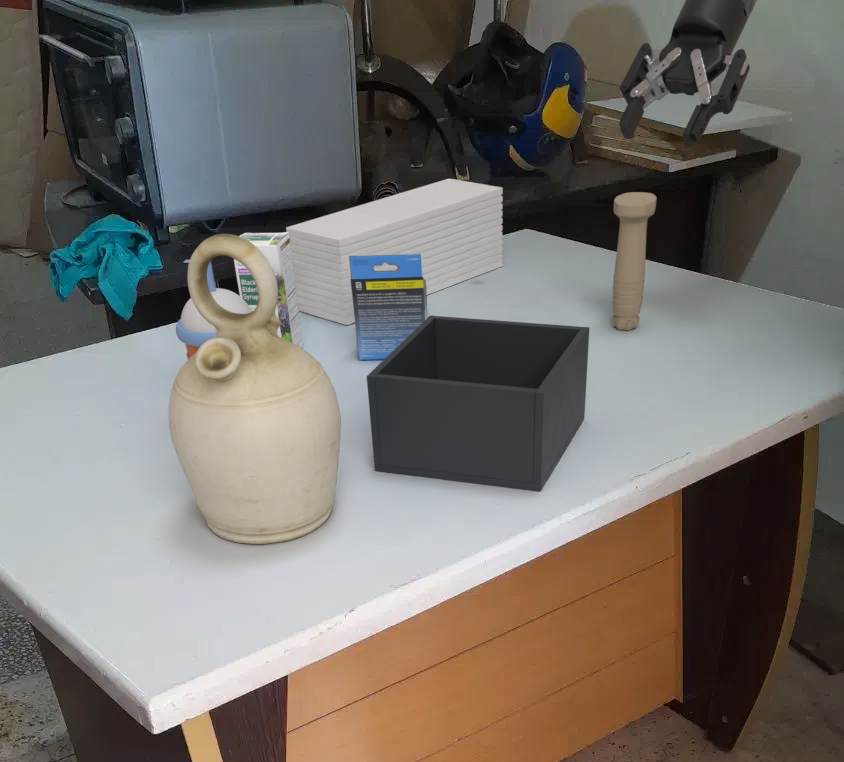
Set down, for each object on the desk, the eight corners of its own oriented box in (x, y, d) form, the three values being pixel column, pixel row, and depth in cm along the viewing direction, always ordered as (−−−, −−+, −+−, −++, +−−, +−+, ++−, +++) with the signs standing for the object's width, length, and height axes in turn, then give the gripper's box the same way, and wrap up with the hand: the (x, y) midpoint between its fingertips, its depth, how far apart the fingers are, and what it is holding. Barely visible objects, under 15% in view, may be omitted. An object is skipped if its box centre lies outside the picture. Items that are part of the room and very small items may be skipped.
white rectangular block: (347, 325, 137) (339, 239, 130) (296, 310, 143) (286, 227, 136) (502, 266, 154) (502, 187, 146) (451, 255, 159) (449, 178, 152)
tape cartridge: (430, 348, 129) (426, 244, 121) (427, 360, 126) (422, 254, 118) (361, 349, 130) (352, 246, 122) (357, 361, 127) (347, 255, 119)
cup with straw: (179, 427, 114) (142, 257, 103) (220, 396, 121) (189, 232, 109) (249, 436, 112) (219, 262, 100) (287, 404, 118) (263, 237, 106)
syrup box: (249, 368, 127) (229, 243, 118) (262, 351, 131) (244, 229, 122) (293, 369, 126) (276, 243, 117) (305, 351, 131) (290, 229, 121)
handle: (602, 334, 130) (610, 205, 120) (611, 317, 134) (619, 191, 124) (640, 336, 129) (651, 206, 119) (647, 319, 133) (659, 192, 123)
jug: (285, 570, 90) (237, 271, 73) (157, 531, 96) (86, 249, 80) (381, 497, 99) (357, 218, 83) (258, 466, 106) (214, 201, 89)
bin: (584, 418, 111) (589, 327, 104) (540, 491, 98) (543, 392, 92) (433, 403, 116) (429, 315, 109) (374, 470, 104) (366, 375, 97)
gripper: (656, -22, 118) (593, 111, 120) (768, -19, 111) (700, 122, 113) (675, 27, 125) (615, 152, 126) (782, 32, 117) (717, 165, 119)
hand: (655, 138), depth 119 cm, fingers open, 8 cm apart
